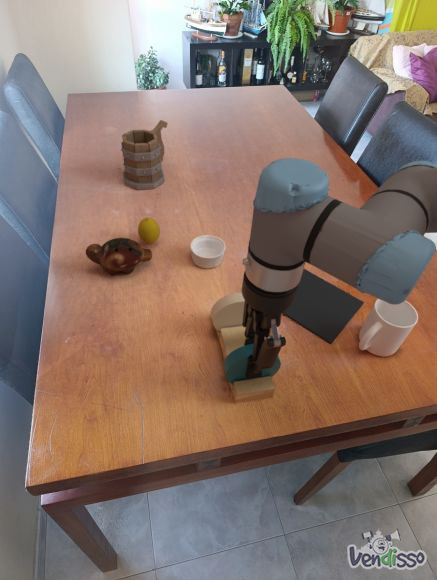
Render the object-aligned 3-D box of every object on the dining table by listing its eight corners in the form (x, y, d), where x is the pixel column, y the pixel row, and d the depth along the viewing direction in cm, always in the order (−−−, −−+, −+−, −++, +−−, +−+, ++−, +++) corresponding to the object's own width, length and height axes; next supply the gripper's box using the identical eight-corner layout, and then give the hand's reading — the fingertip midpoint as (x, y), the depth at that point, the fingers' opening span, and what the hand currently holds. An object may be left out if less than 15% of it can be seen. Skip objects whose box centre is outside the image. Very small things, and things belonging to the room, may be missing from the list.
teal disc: (275, 381, 70) (285, 351, 63) (223, 389, 68) (228, 359, 61) (272, 370, 72) (281, 339, 64) (221, 377, 70) (225, 347, 63)
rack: (271, 401, 70) (276, 387, 66) (233, 407, 68) (235, 394, 65) (245, 318, 83) (248, 303, 79) (212, 322, 82) (214, 307, 78)
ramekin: (231, 256, 97) (232, 243, 94) (211, 275, 92) (212, 262, 89) (203, 243, 100) (204, 230, 97) (183, 260, 95) (182, 247, 92)
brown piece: (86, 261, 93) (81, 234, 87) (146, 252, 98) (146, 226, 92) (91, 286, 86) (87, 259, 81) (156, 276, 91) (156, 249, 86)
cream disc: (258, 330, 78) (265, 298, 71) (211, 336, 76) (214, 304, 69) (255, 321, 80) (262, 289, 72) (209, 327, 78) (211, 295, 71)
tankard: (146, 194, 115) (142, 147, 104) (115, 181, 119) (108, 134, 108) (184, 168, 127) (184, 124, 116) (155, 157, 131) (151, 113, 120)
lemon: (135, 241, 99) (132, 216, 93) (153, 234, 102) (151, 209, 96) (147, 252, 96) (144, 227, 90) (164, 244, 99) (163, 219, 93)
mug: (367, 372, 75) (387, 342, 67) (337, 343, 80) (353, 312, 72) (404, 346, 80) (427, 316, 72) (374, 321, 84) (392, 289, 77)
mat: (363, 303, 88) (364, 302, 88) (330, 344, 79) (331, 343, 79) (292, 263, 96) (292, 262, 96) (255, 296, 88) (255, 295, 87)
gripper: (232, 241, 55) (222, 336, 72) (260, 323, 44) (241, 412, 61) (280, 237, 56) (259, 331, 73) (319, 315, 46) (284, 404, 63)
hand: (251, 368), depth 67 cm, fingers closed on teal disc, 2 cm apart
